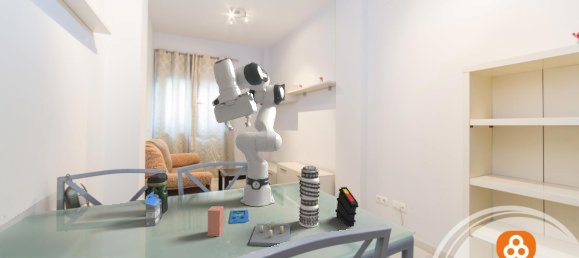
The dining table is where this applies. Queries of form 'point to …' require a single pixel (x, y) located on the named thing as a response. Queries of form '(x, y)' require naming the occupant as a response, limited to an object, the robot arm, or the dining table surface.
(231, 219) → the handheld gaming device
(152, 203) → the label tape box
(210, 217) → the salmon pink block
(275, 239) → the plate
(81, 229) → the dining table surface
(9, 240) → the dining table surface
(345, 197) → the black ribbed casing
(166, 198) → the coffee jar
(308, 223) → the decorative candle
